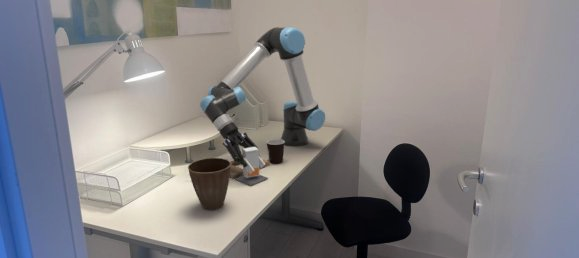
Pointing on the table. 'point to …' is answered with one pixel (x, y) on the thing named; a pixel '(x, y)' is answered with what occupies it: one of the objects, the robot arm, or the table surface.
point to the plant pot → (210, 181)
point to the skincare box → (251, 161)
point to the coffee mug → (275, 150)
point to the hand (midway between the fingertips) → (257, 169)
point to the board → (238, 172)
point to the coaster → (251, 180)
